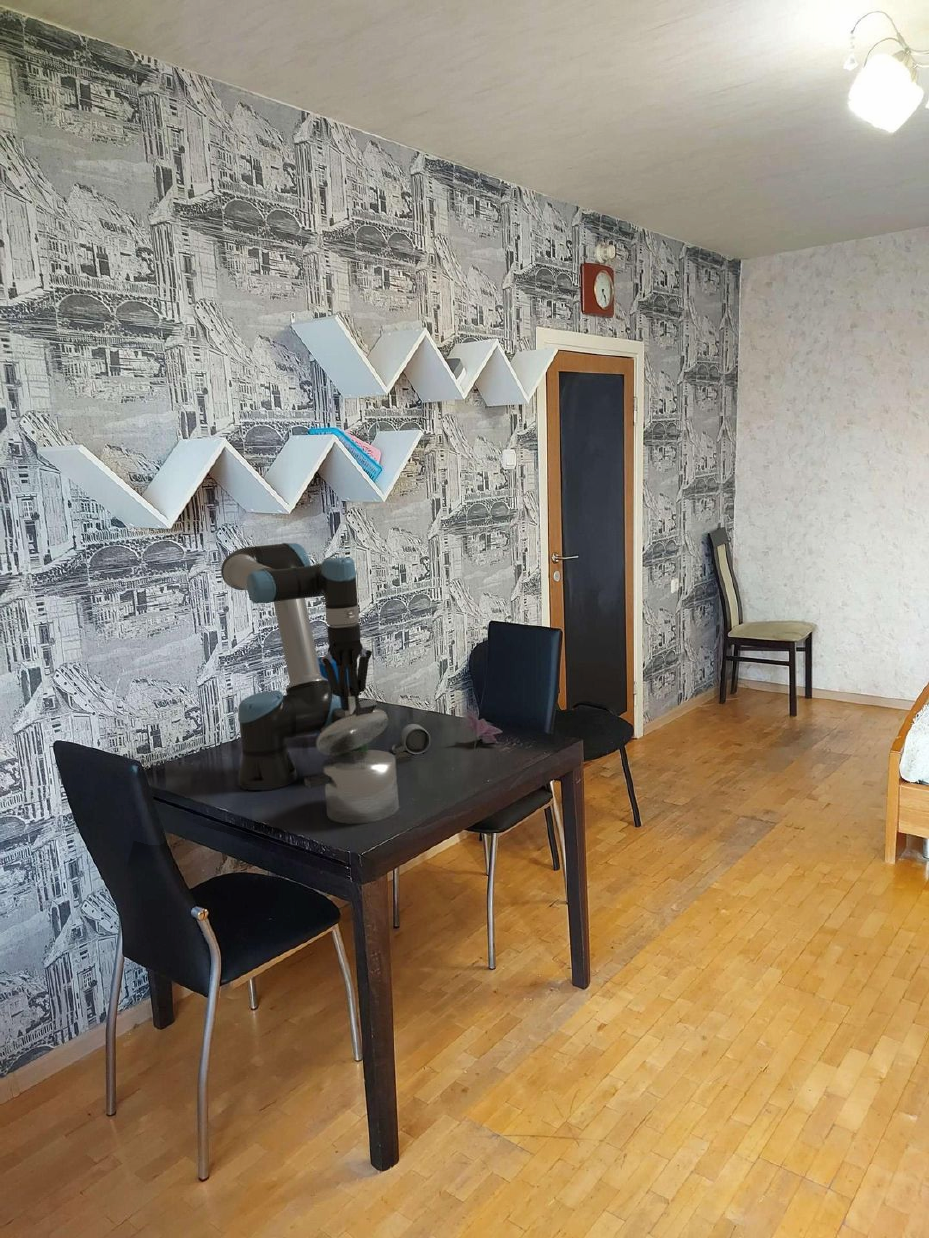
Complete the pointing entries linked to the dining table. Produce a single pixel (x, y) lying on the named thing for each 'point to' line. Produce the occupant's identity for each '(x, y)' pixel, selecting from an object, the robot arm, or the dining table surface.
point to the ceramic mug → (413, 740)
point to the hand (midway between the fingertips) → (351, 722)
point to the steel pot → (360, 785)
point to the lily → (482, 728)
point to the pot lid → (352, 729)
